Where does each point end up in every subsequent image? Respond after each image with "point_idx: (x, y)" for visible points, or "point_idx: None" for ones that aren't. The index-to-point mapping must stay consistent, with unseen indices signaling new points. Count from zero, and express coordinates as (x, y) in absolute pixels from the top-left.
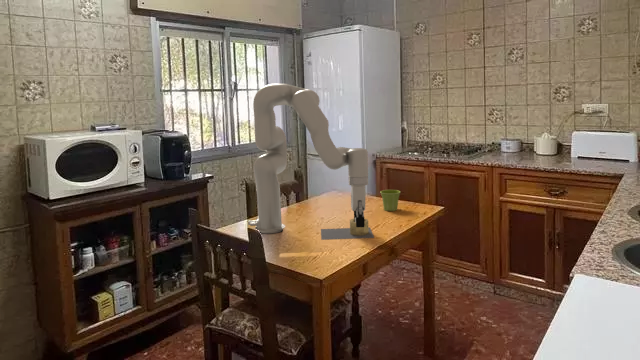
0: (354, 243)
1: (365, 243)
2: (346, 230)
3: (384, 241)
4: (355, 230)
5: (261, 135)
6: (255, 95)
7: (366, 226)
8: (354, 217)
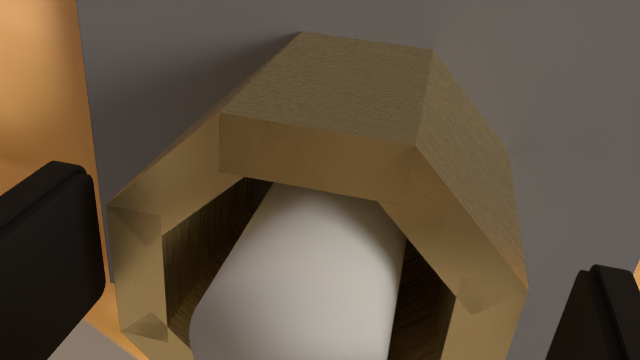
0: (32, 13)
1: (40, 146)
2: (564, 4)
3: (111, 336)
4: (190, 127)
5: None
6: None
7: None
8: (594, 309)
